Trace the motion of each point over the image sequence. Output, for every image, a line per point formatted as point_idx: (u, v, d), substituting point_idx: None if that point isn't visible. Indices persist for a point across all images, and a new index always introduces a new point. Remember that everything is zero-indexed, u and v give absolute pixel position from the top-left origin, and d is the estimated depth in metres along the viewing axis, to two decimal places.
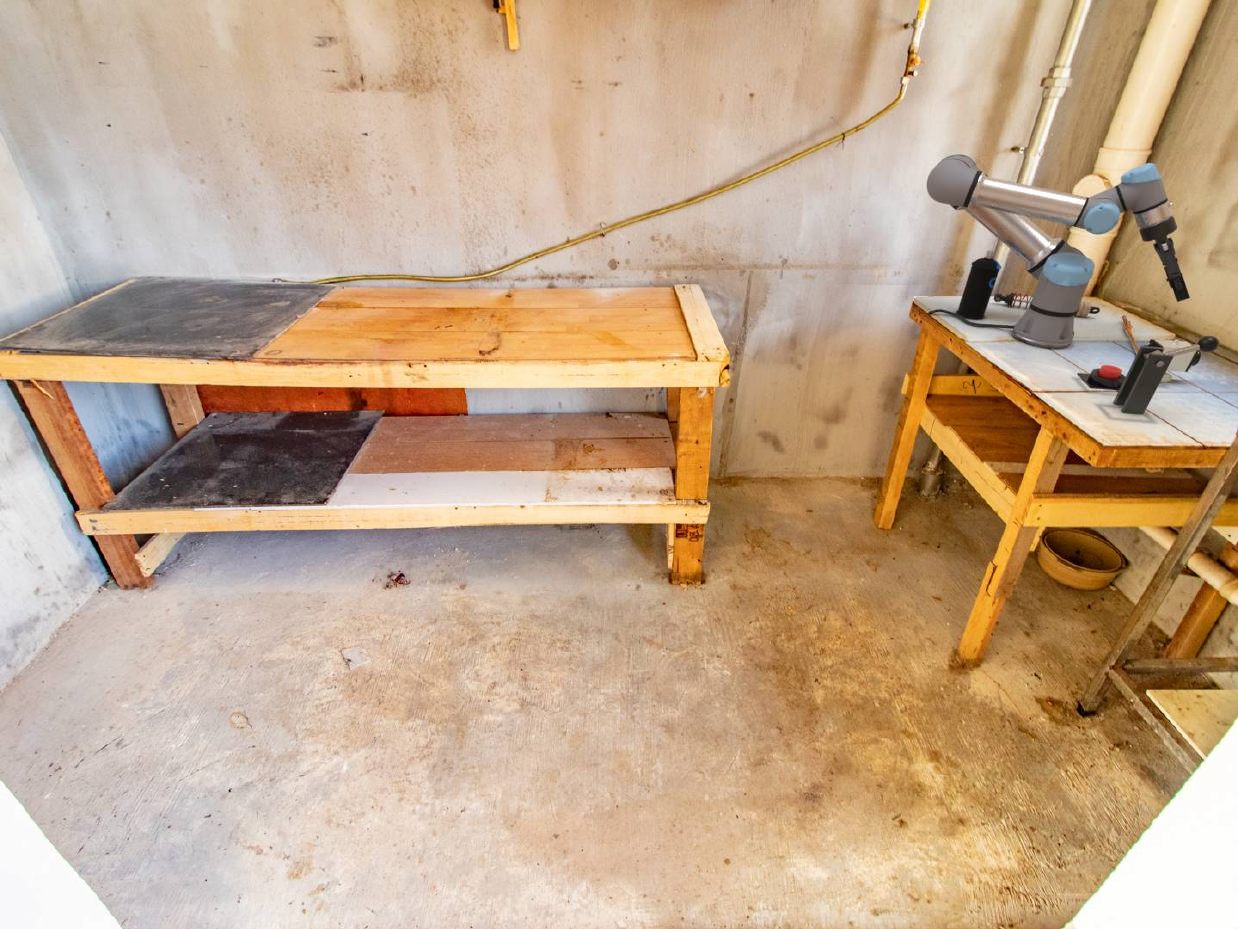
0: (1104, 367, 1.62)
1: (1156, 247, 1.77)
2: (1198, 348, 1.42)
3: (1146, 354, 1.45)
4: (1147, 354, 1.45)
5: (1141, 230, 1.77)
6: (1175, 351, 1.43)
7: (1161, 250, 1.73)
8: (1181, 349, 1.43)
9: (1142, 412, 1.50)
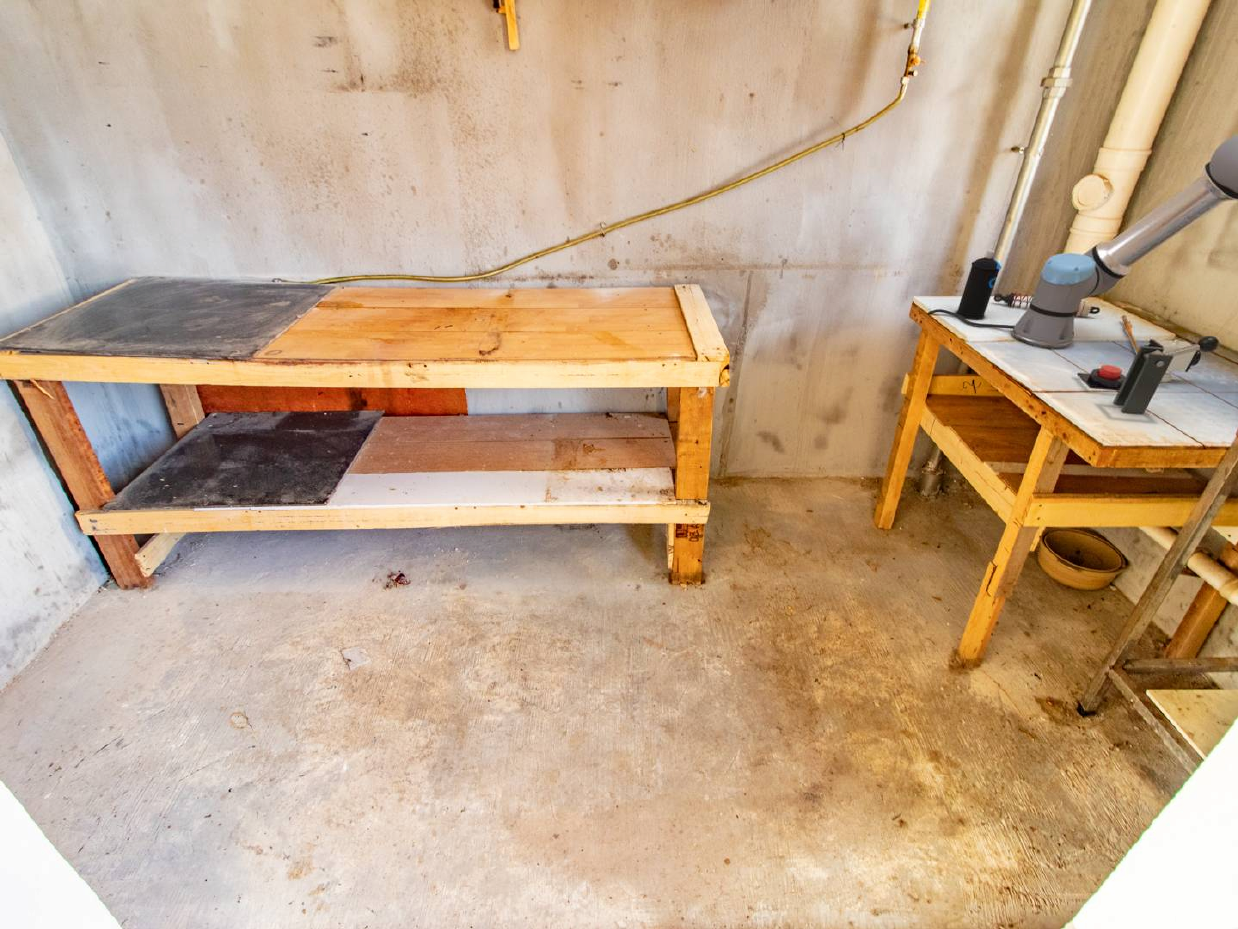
0: (1104, 367, 1.62)
1: None
2: (1198, 348, 1.42)
3: (1146, 354, 1.45)
4: (1147, 354, 1.45)
5: None
6: (1175, 351, 1.43)
7: None
8: (1181, 349, 1.43)
9: (1142, 412, 1.50)
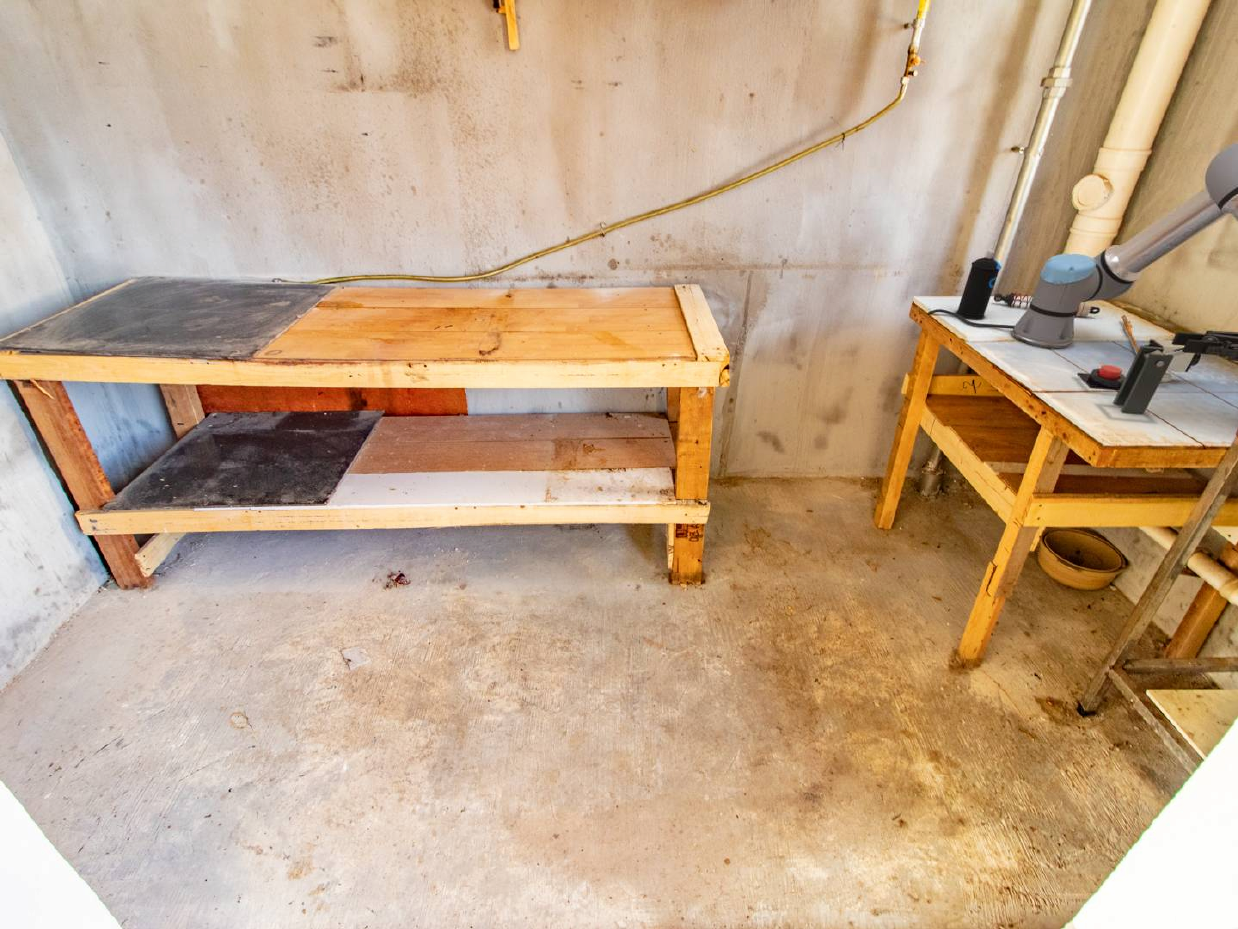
0: (1104, 367, 1.62)
1: None
2: None
3: (1146, 354, 1.45)
4: (1147, 354, 1.45)
5: None
6: (1175, 351, 1.43)
7: None
8: (1181, 349, 1.43)
9: (1142, 412, 1.50)
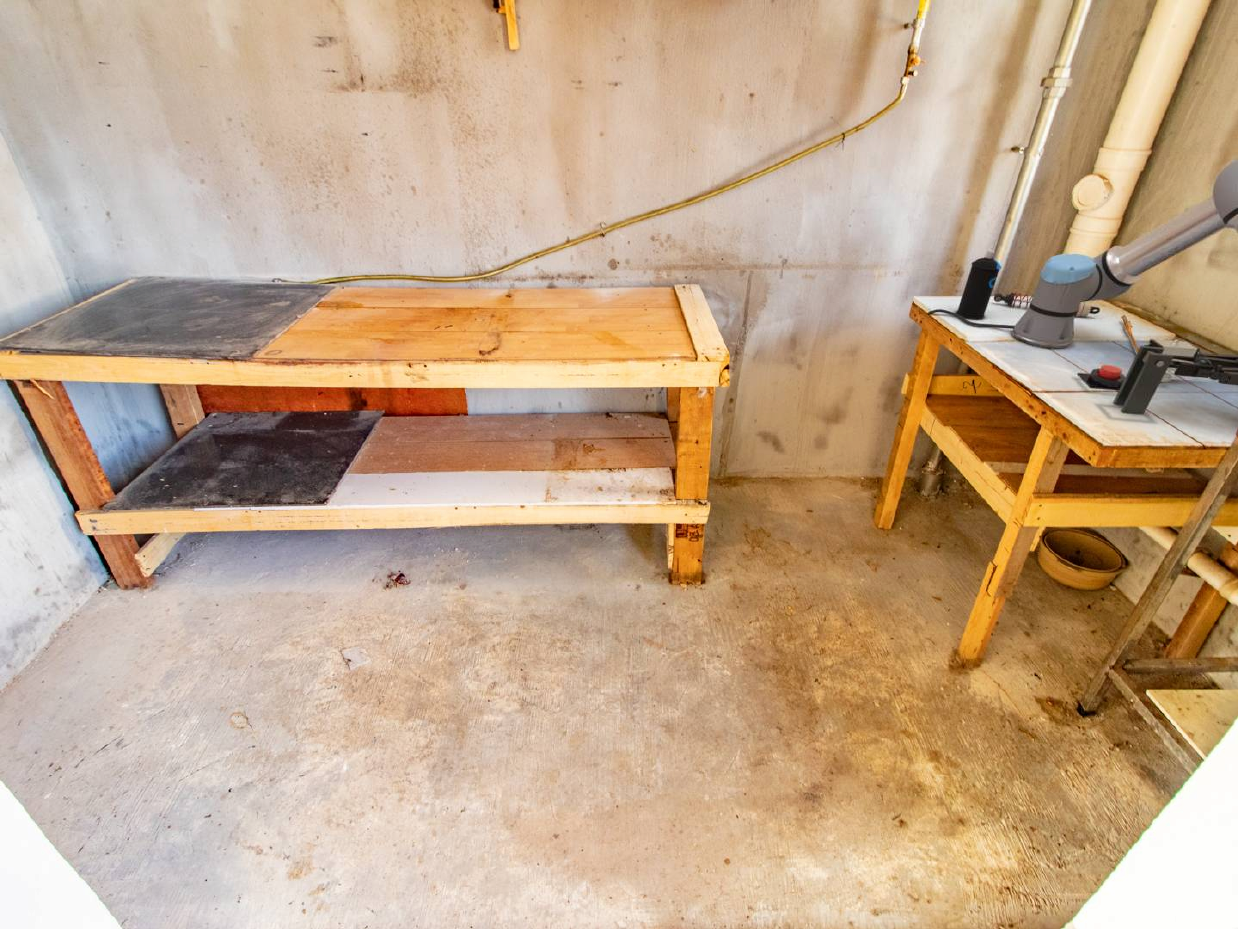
0: (1104, 367, 1.62)
1: None
2: None
3: (1150, 352, 1.45)
4: (1151, 352, 1.45)
5: None
6: (1173, 360, 1.44)
7: None
8: (1179, 360, 1.44)
9: (1142, 412, 1.50)
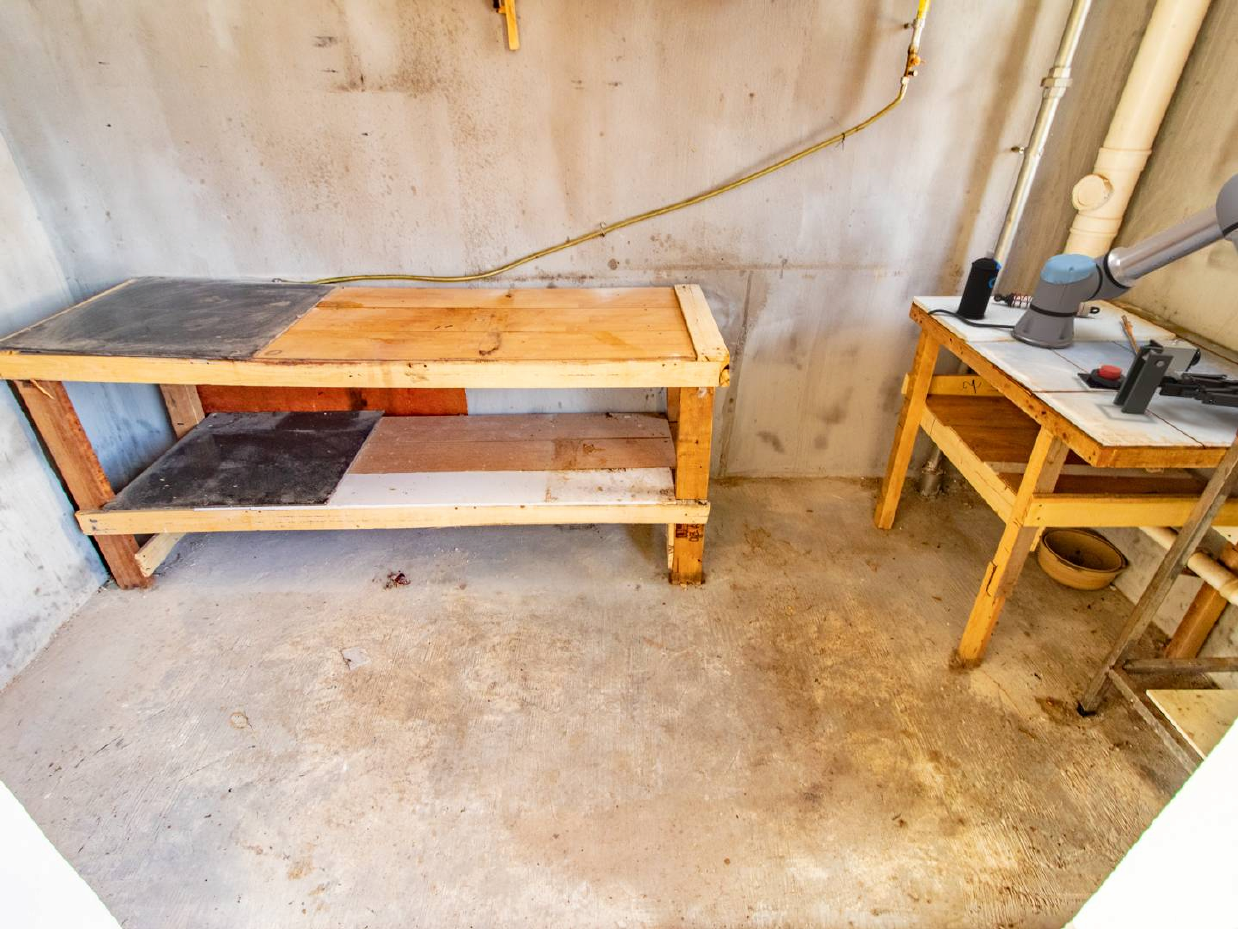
0: (1104, 367, 1.62)
1: None
2: (1179, 379, 1.46)
3: (1154, 351, 1.45)
4: (1154, 351, 1.45)
5: None
6: (1168, 367, 1.45)
7: None
8: (1171, 369, 1.46)
9: (1142, 412, 1.50)
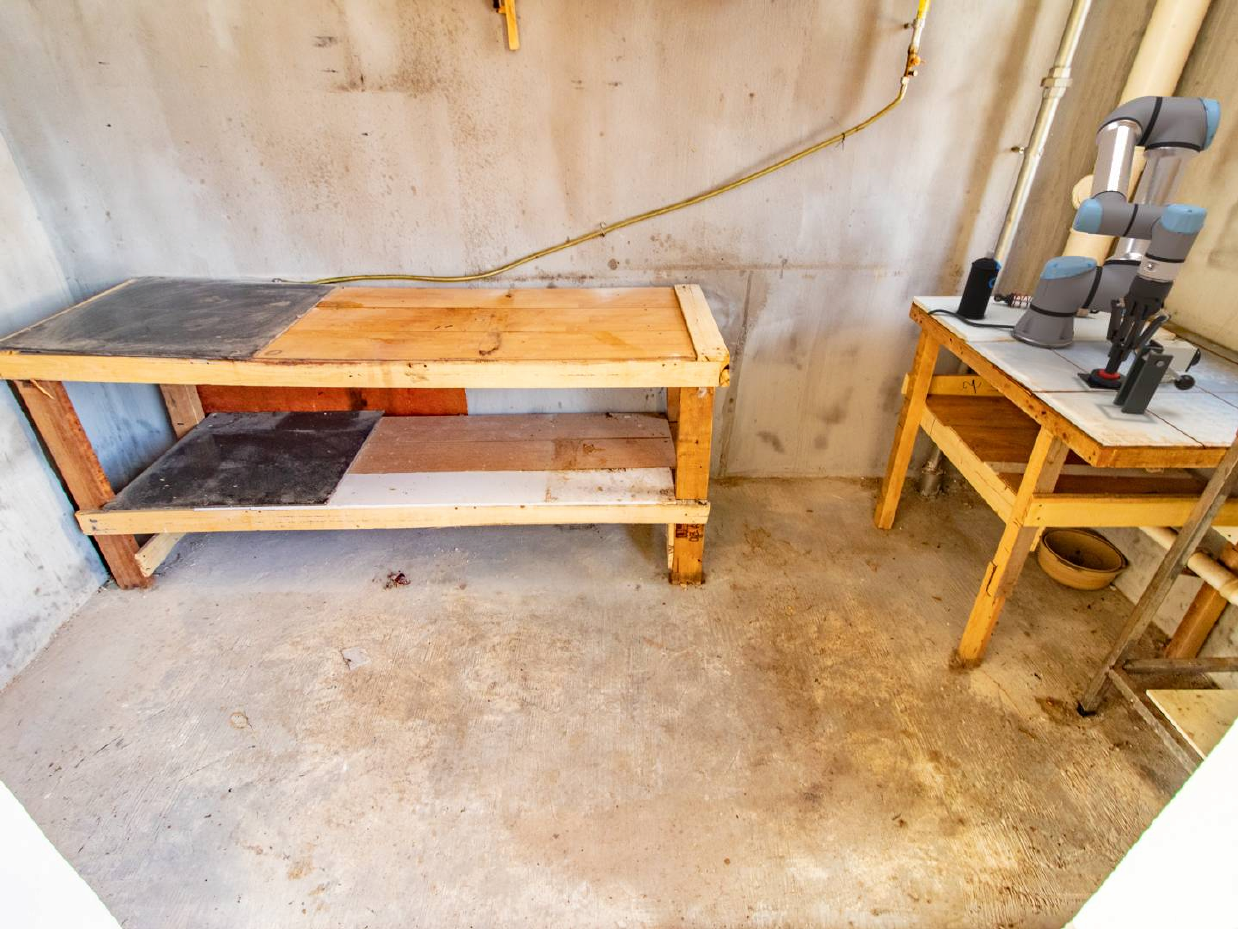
0: (1102, 371, 1.63)
1: None
2: (1179, 379, 1.46)
3: (1154, 351, 1.45)
4: (1154, 351, 1.45)
5: None
6: (1168, 367, 1.45)
7: None
8: (1171, 369, 1.46)
9: (1142, 412, 1.50)
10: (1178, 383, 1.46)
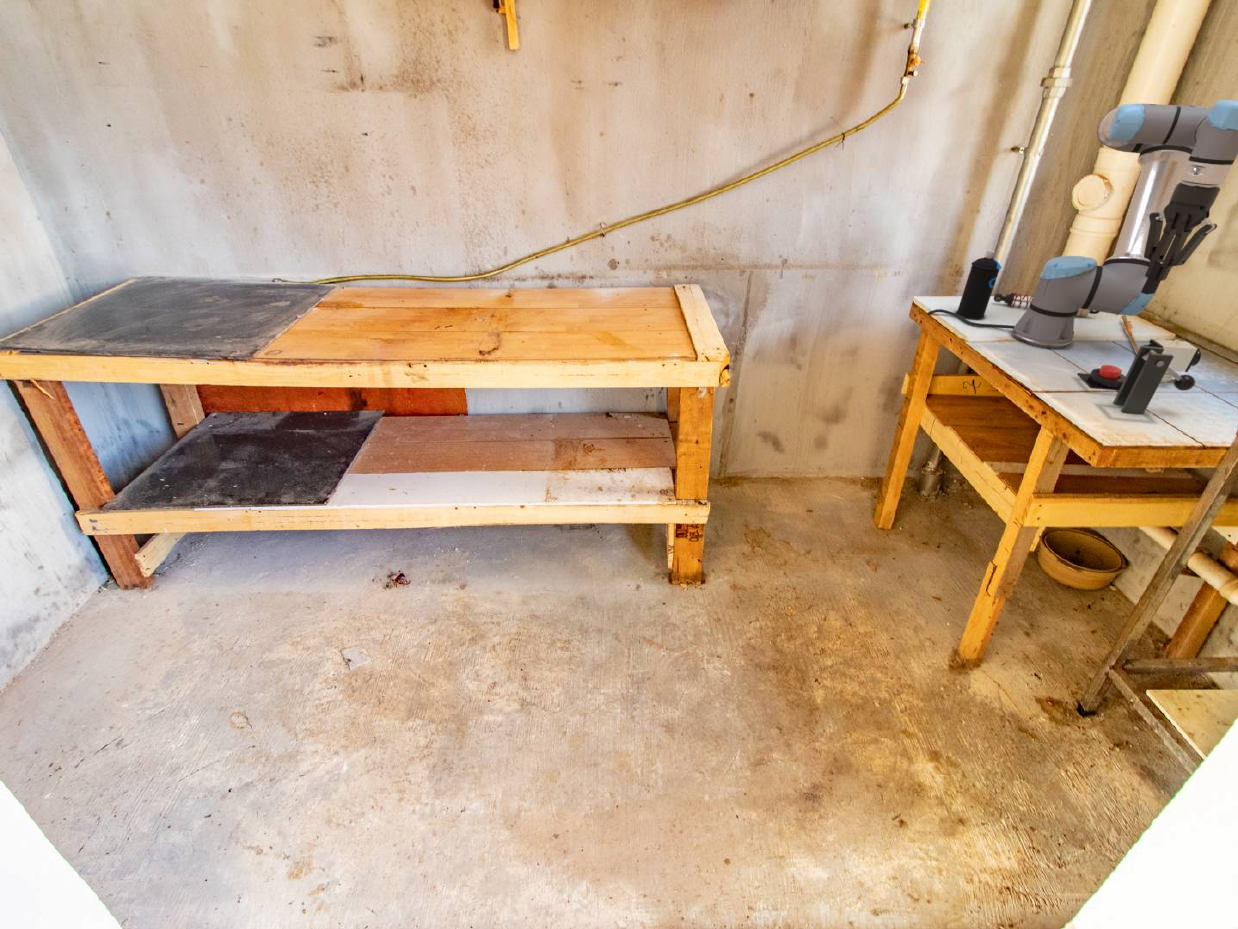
0: (1104, 367, 1.62)
1: None
2: (1179, 379, 1.46)
3: (1154, 351, 1.45)
4: (1154, 351, 1.45)
5: None
6: (1168, 367, 1.45)
7: None
8: (1171, 369, 1.46)
9: (1142, 412, 1.50)
10: (1178, 383, 1.46)
